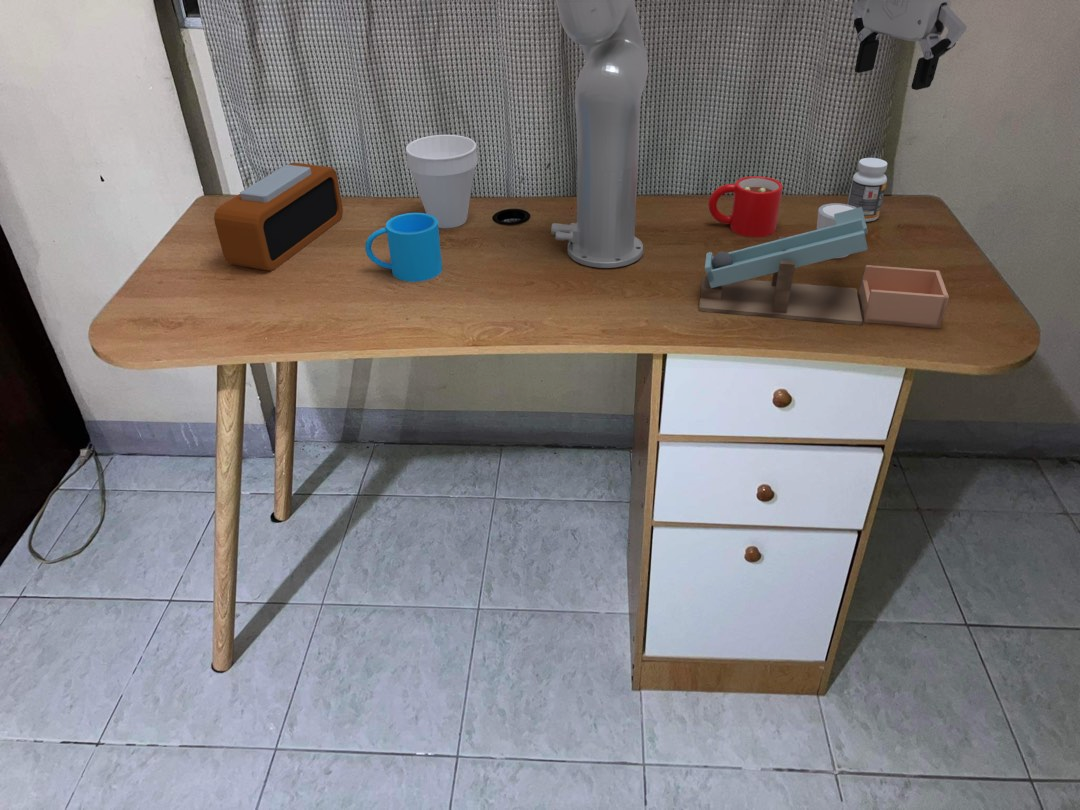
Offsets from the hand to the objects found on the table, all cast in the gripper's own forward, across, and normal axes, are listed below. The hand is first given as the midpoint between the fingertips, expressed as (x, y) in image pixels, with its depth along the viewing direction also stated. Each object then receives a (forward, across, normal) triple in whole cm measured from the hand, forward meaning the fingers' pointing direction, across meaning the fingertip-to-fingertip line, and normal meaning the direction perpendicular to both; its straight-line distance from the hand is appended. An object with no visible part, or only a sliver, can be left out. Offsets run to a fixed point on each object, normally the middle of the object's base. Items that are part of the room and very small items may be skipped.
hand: (891, 79), depth 115 cm
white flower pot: (+31, -53, -44) cm, 76 cm away
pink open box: (+29, +13, -4) cm, 32 cm away
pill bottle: (+30, -13, +18) cm, 37 cm away
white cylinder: (+30, -6, +4) cm, 30 cm away
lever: (+23, -1, -13) cm, 27 cm away
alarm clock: (+31, -61, -72) cm, 99 cm away
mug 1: (+31, -39, -59) cm, 77 cm away
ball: (+24, -5, -22) cm, 33 cm away
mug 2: (+30, -22, -2) cm, 37 cm away
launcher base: (+30, +2, -16) cm, 34 cm away
